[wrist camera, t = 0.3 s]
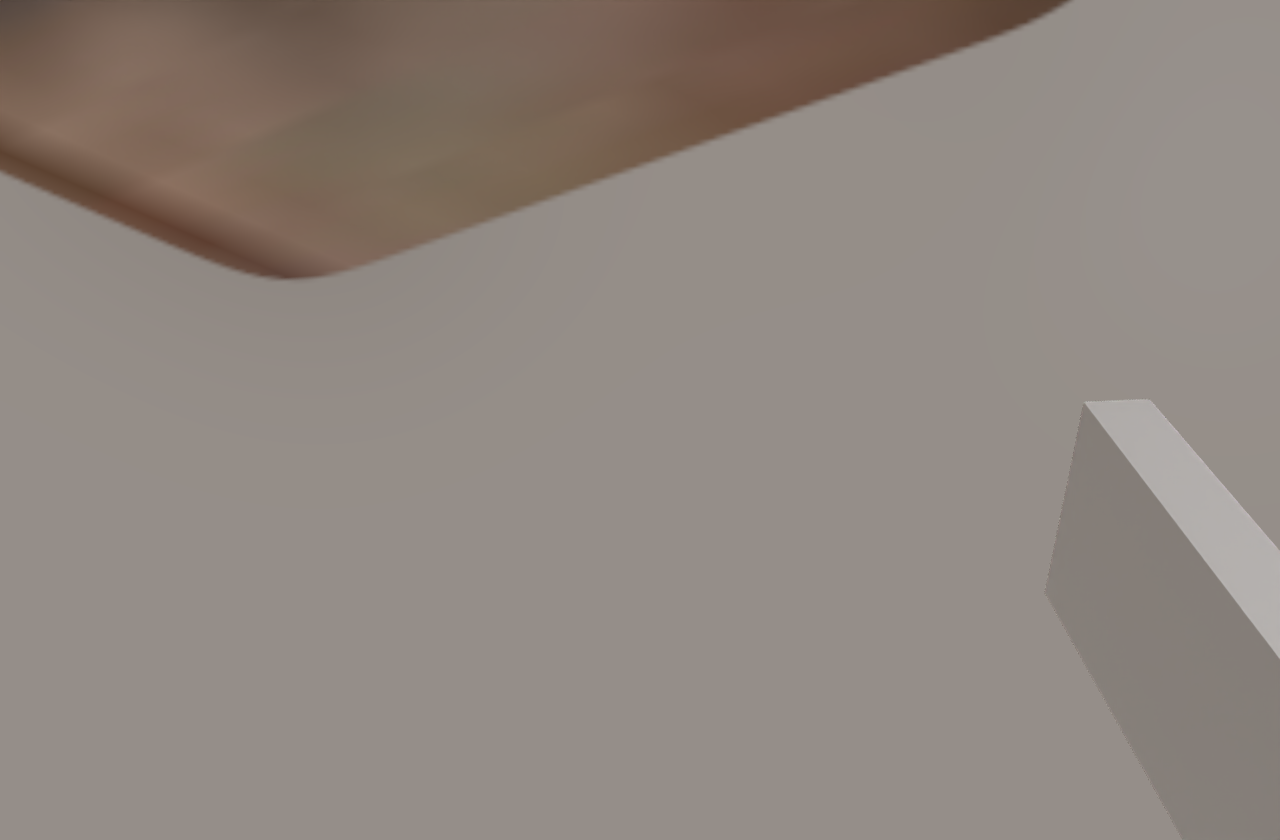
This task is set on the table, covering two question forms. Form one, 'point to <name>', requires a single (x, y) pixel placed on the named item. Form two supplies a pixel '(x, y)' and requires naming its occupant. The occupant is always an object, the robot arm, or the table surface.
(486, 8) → the table surface
